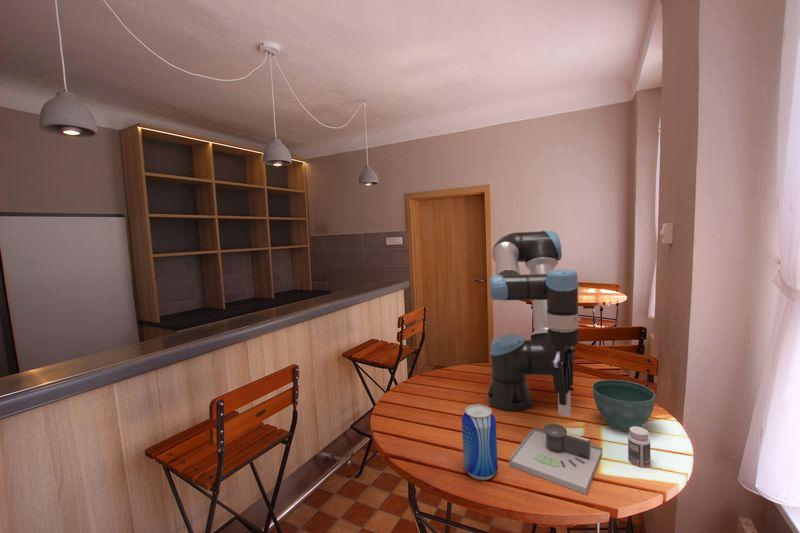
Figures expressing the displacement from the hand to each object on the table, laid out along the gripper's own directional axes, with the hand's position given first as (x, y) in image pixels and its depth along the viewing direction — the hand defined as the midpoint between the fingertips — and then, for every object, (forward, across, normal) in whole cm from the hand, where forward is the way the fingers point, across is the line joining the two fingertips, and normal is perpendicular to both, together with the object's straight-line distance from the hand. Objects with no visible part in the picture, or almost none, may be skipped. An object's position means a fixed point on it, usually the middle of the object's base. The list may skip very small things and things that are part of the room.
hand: (564, 414), depth 96 cm
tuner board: (+10, -5, +1) cm, 12 cm away
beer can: (+11, -21, +14) cm, 27 cm away
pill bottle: (+11, +6, -16) cm, 20 cm away
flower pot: (+11, +24, -9) cm, 28 cm away
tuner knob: (+9, -2, -1) cm, 9 cm away
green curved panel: (+9, -6, -1) cm, 11 cm away
